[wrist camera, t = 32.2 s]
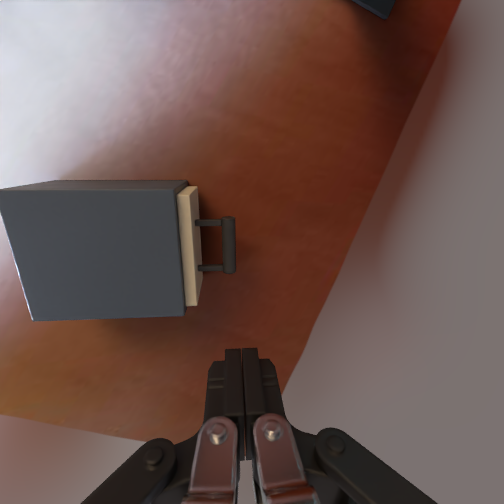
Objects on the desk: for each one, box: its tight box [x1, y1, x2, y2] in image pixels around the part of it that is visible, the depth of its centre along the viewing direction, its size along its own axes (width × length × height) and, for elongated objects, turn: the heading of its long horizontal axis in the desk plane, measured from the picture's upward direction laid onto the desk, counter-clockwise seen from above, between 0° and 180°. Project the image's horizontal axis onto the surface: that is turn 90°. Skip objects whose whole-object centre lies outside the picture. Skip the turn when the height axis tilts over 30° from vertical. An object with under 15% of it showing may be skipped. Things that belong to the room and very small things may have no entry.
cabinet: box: [0, 180, 188, 321], centre depth 30 cm, size 15×13×9 cm
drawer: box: [176, 186, 236, 306], centre depth 30 cm, size 18×11×7 cm, turn 90°
